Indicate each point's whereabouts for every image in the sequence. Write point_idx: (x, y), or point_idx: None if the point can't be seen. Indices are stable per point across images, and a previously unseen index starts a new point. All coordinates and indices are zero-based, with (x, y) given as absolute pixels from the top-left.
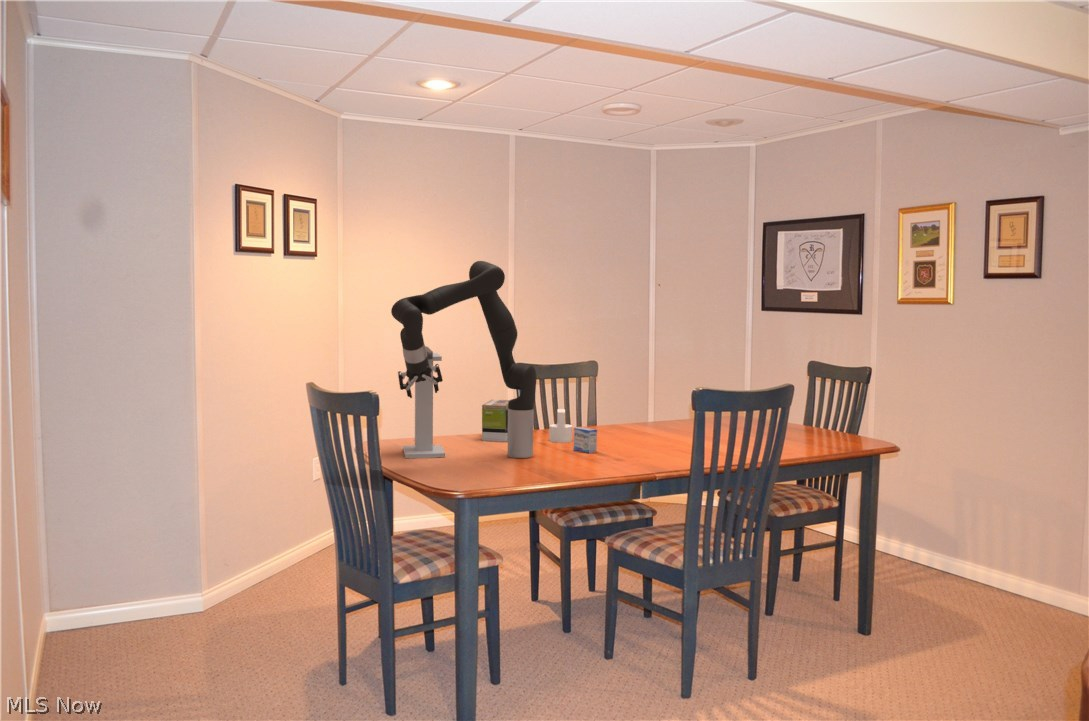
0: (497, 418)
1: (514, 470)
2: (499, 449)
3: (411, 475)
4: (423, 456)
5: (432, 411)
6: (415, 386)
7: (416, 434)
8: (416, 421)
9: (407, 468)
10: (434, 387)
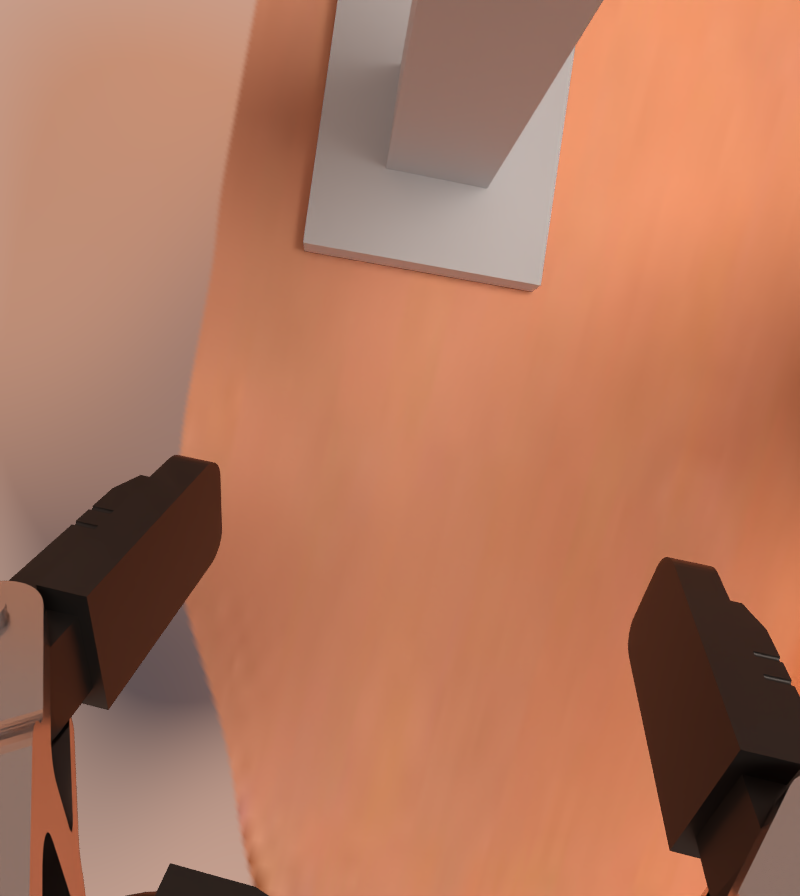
0: None
1: None
2: None
3: (246, 696)
4: (410, 266)
5: (593, 8)
6: None
7: (401, 108)
8: (414, 41)
9: (261, 518)
10: (660, 775)
